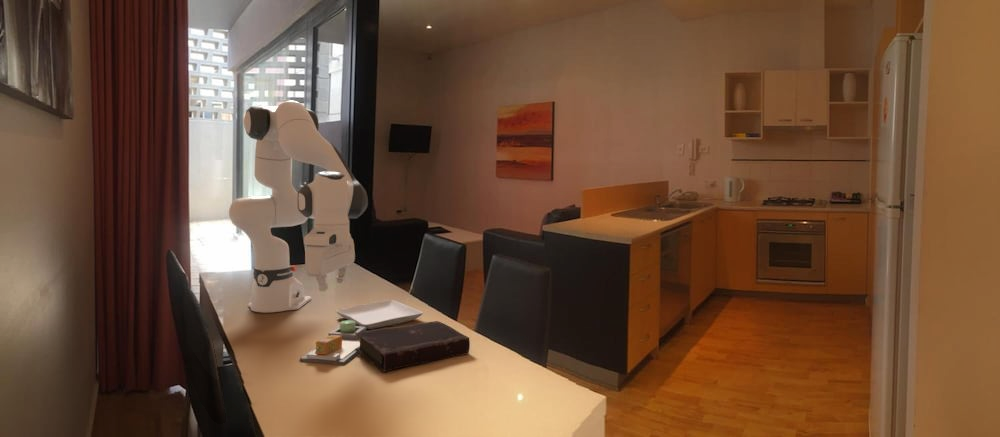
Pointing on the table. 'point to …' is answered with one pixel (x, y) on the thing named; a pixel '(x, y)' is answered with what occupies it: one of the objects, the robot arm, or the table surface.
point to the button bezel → (348, 335)
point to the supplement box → (328, 344)
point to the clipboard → (334, 354)
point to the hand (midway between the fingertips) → (332, 286)
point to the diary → (411, 344)
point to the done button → (347, 326)
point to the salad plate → (379, 314)
